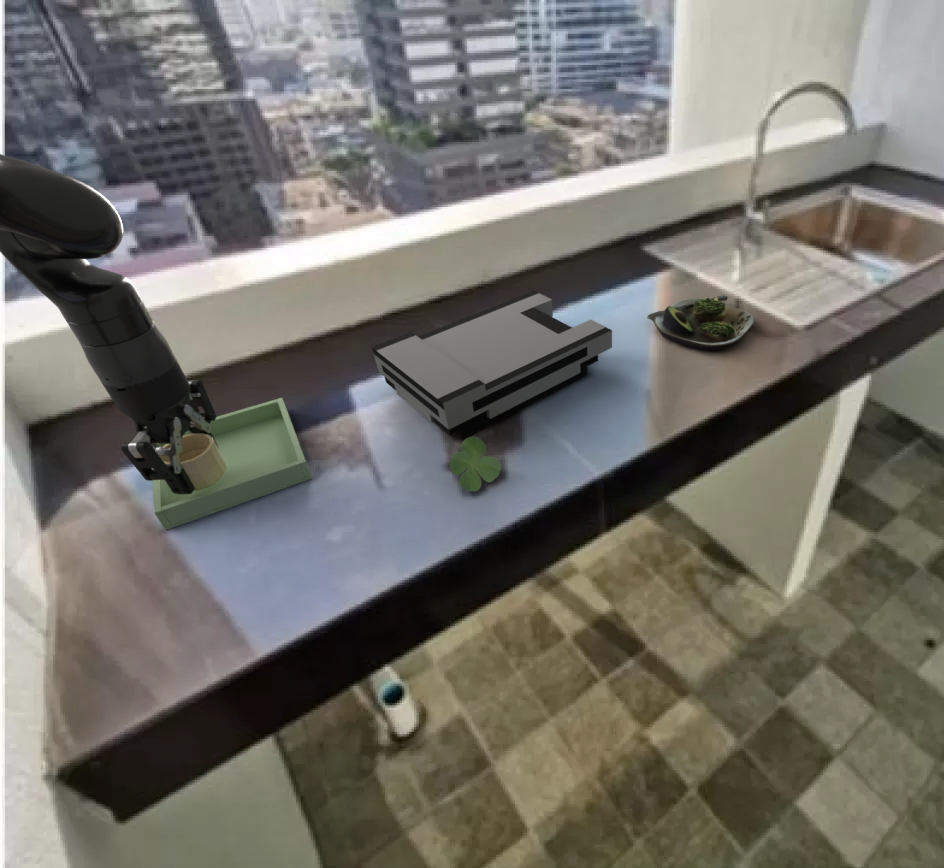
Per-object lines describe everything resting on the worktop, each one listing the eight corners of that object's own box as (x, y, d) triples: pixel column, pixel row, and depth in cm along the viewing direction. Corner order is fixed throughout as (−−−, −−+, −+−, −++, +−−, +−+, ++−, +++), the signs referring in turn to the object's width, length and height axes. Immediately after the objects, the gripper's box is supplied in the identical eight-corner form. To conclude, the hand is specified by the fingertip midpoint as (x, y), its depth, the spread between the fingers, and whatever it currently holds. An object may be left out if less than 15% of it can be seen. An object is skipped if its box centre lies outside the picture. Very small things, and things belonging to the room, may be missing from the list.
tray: (165, 530, 75) (154, 513, 73) (159, 453, 87) (149, 436, 85) (312, 478, 83) (305, 461, 81) (288, 413, 94) (281, 397, 92)
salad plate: (689, 293, 126) (691, 272, 123) (769, 317, 117) (773, 295, 114) (637, 330, 114) (638, 308, 111) (722, 360, 105) (725, 337, 102)
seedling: (472, 497, 86) (498, 495, 82) (421, 488, 81) (446, 485, 76) (478, 448, 88) (505, 444, 83) (429, 436, 83) (454, 431, 78)
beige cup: (176, 500, 76) (157, 471, 73) (173, 472, 80) (155, 443, 77) (231, 482, 79) (215, 453, 76) (225, 455, 83) (210, 427, 80)
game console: (611, 366, 104) (612, 323, 99) (453, 449, 87) (443, 403, 82) (536, 324, 116) (533, 284, 111) (383, 390, 99) (371, 347, 94)
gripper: (139, 335, 74) (197, 439, 85) (62, 403, 63) (139, 514, 74) (200, 333, 74) (251, 438, 85) (134, 401, 63) (202, 512, 74)
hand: (199, 473), depth 79 cm, fingers closed on beige cup, 6 cm apart
